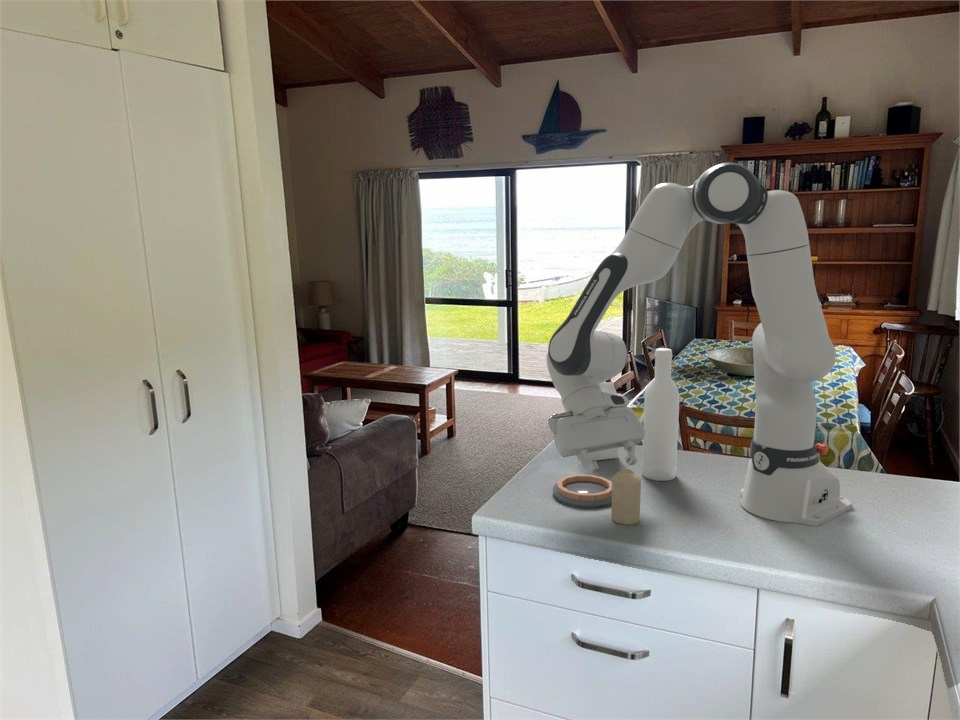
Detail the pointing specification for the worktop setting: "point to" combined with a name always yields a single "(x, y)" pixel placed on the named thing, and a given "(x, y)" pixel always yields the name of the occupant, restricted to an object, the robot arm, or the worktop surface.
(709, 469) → the worktop surface
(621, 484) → the candle
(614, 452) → the milk carton
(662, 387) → the bottle
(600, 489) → the tray
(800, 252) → the robot arm
